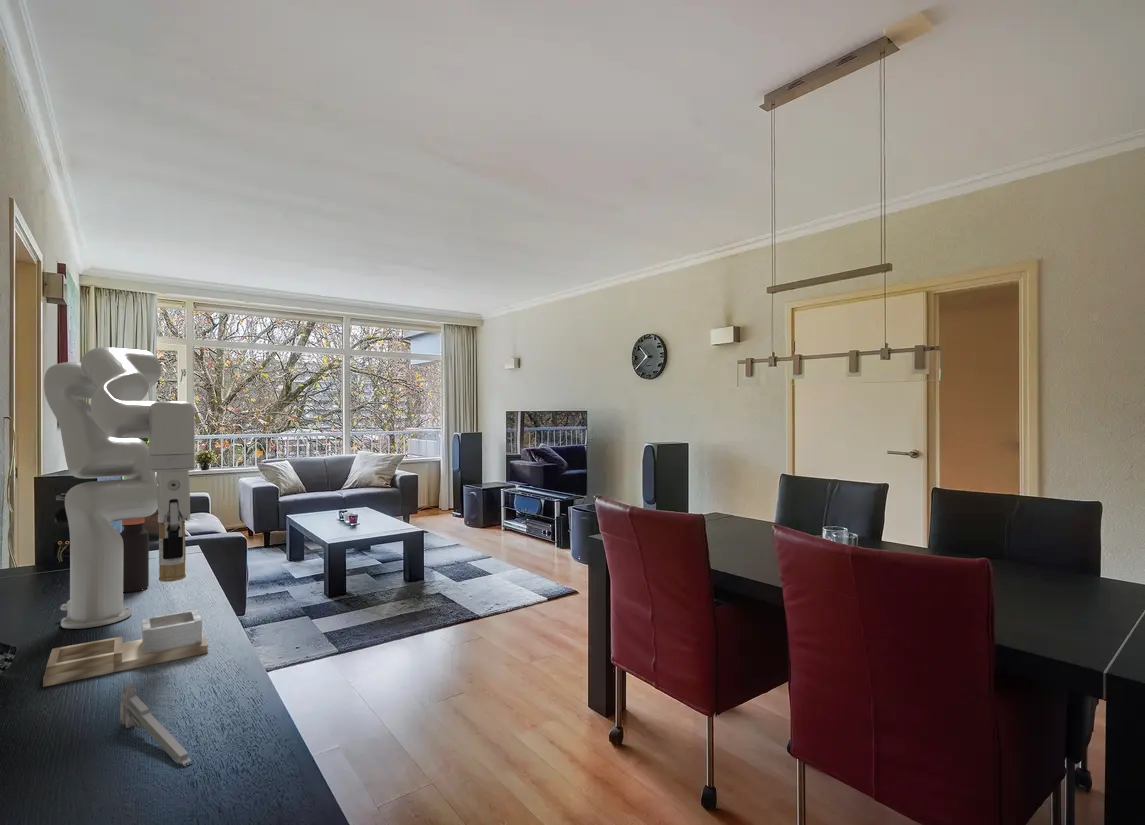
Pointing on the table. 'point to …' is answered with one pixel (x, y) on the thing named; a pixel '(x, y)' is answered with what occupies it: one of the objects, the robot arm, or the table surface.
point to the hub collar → (171, 631)
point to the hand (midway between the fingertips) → (172, 554)
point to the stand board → (107, 658)
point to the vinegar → (135, 555)
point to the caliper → (149, 724)
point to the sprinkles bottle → (171, 567)
